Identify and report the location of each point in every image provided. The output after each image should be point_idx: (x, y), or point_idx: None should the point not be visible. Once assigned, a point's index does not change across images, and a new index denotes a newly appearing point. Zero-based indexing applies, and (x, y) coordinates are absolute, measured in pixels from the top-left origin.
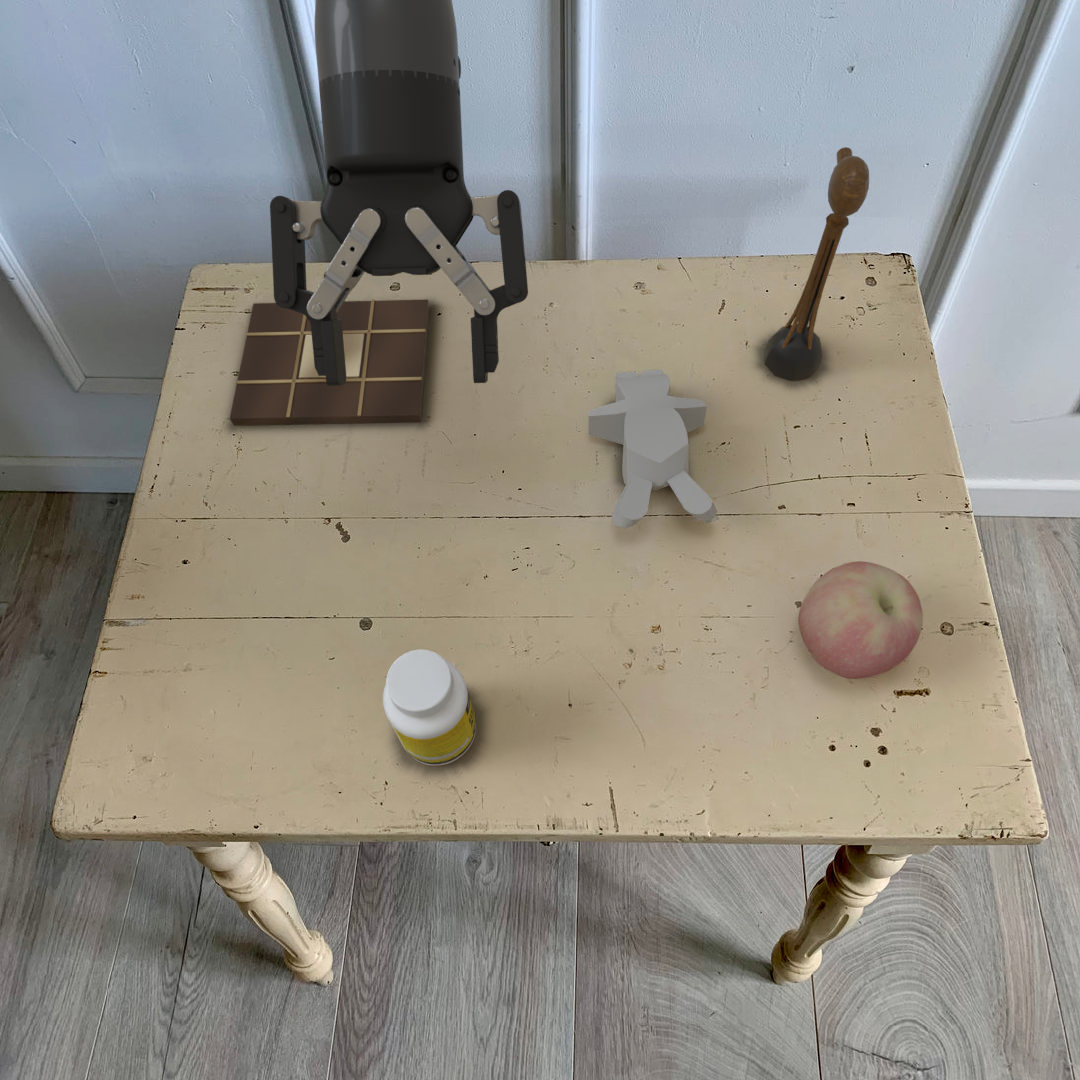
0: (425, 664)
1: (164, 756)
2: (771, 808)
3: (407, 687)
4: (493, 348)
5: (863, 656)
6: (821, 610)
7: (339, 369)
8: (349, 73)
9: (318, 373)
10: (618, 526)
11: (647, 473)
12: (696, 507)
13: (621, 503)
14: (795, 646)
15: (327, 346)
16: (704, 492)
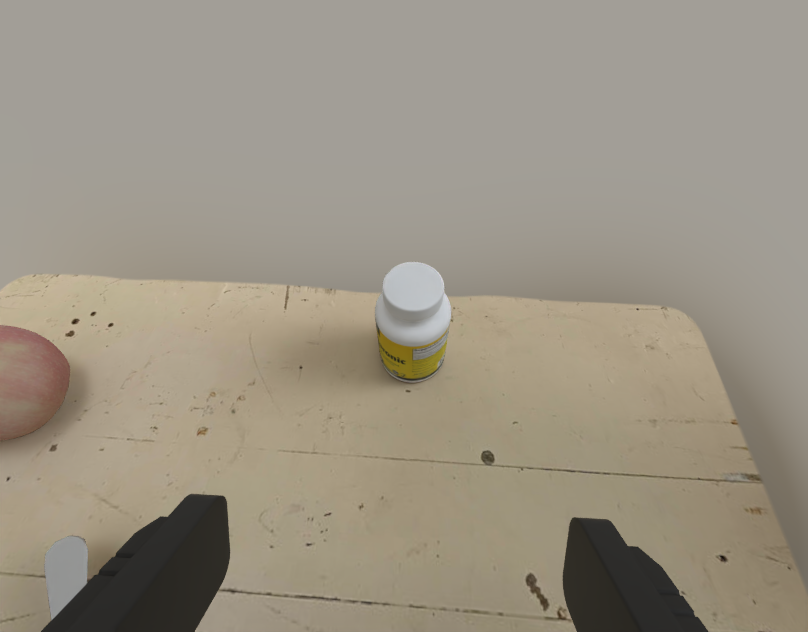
0: (406, 297)
1: (636, 348)
2: (177, 291)
3: (423, 279)
4: (112, 567)
5: (13, 327)
6: (14, 368)
7: (584, 564)
8: None
9: (641, 553)
10: None
11: None
12: (71, 548)
13: None
14: (84, 405)
15: (648, 599)
16: (46, 574)
